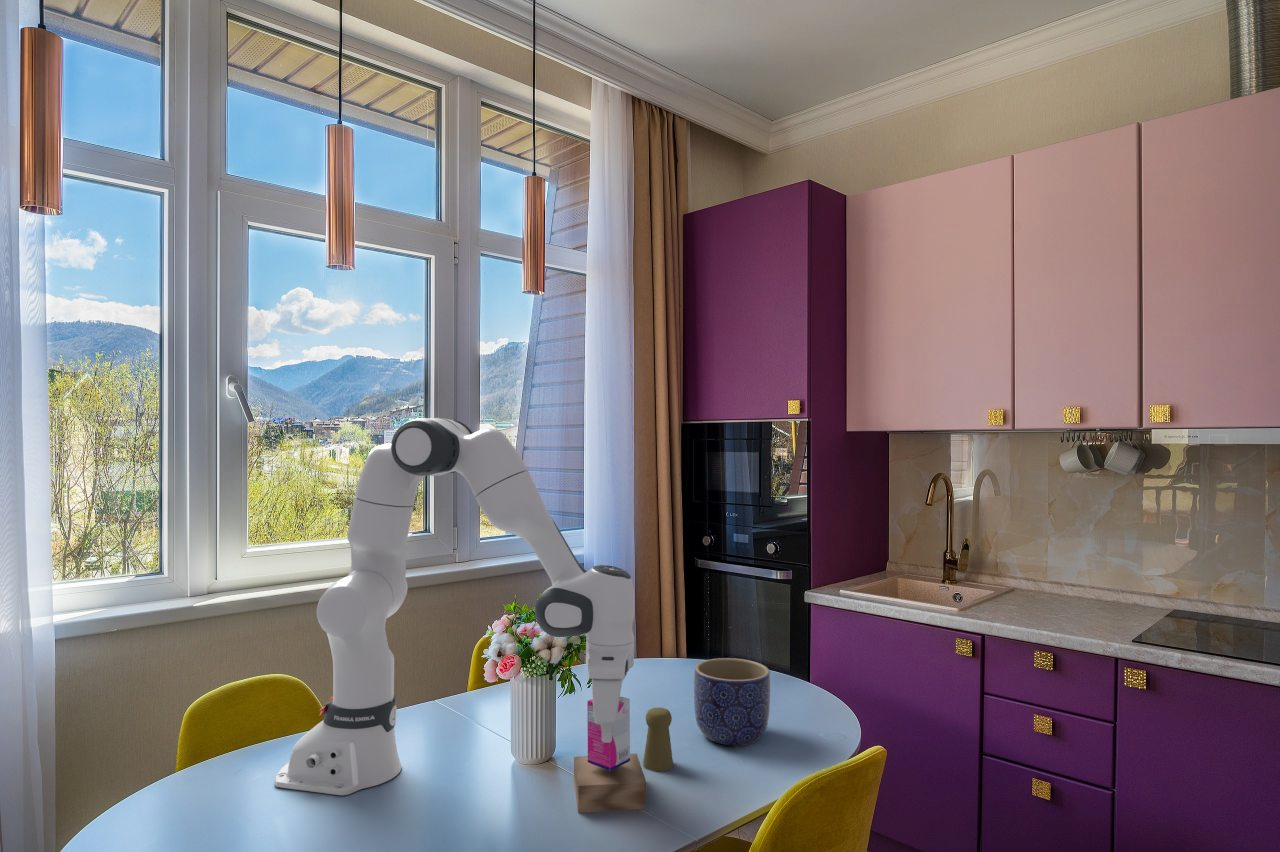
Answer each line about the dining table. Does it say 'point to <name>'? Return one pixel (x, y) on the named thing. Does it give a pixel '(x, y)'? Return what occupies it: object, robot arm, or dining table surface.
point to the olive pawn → (658, 740)
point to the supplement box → (619, 747)
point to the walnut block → (609, 786)
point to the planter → (732, 700)
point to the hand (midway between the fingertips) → (608, 731)
